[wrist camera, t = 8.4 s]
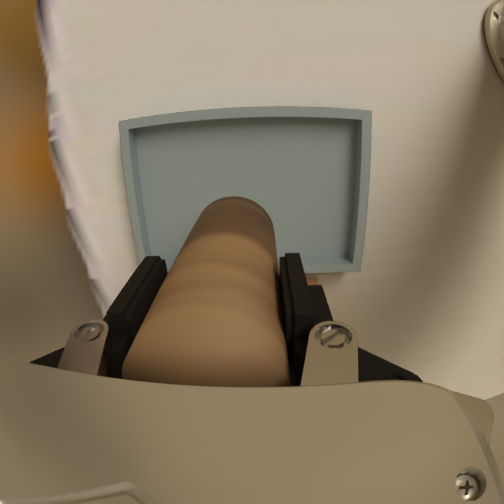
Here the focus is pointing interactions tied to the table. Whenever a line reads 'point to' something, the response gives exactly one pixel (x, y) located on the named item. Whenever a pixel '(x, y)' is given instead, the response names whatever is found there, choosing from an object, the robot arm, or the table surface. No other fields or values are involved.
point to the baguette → (217, 307)
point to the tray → (253, 177)
